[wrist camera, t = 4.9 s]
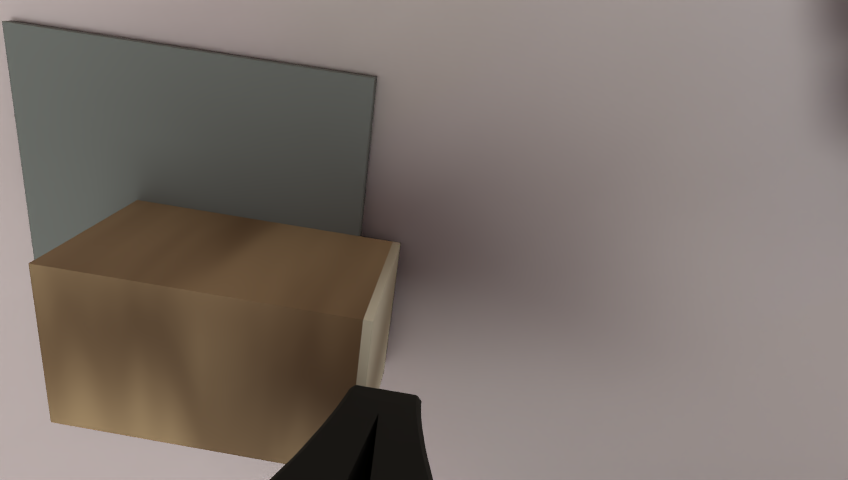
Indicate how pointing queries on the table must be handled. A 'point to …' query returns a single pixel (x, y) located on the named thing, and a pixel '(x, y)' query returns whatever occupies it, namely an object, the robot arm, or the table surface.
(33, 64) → the rubber mat
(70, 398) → the walnut block
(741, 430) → the table surface
